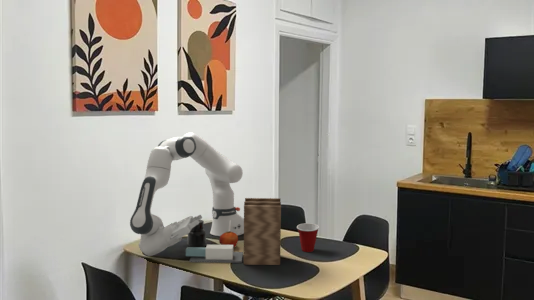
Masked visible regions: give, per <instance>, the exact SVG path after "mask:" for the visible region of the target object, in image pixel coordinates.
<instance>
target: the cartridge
mask: <svg viewBox="0 0 534 300" xmlns="http://www.w3.org/2000/svg"><path fill="white" fill-rule="evenodd" d="M205 246H206V247H205ZM205 246H202V247H190V246H187V247H186V249H185V257H191V256H206V259H215V260H233V252H234V248H233V245H221V244H206V245H205Z"/></svg>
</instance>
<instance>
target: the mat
mask: <svg viewBox="0 0 534 300" xmlns="http://www.w3.org/2000/svg"><path fill="white" fill-rule="evenodd" d="M243 258H244V251H233V260H215V259H206V256H190V259H189V263H221V264H222V263H228V264H229V263H231V264H232V263H237V264H240V263H241V264H242V262H243Z"/></svg>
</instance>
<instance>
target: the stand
mask: <svg viewBox="0 0 534 300" xmlns="http://www.w3.org/2000/svg"><path fill="white" fill-rule="evenodd" d="M243 202H244V204H243V218H244V234H243V265H250V266H251V265H254V266H255V265H257V266H258V265H260V266H261V265H262V266H266V265H268V266H269V265H270V266H272V265H273V266H280V265H281V234H282V233H281V231H282V227H281V226H282V225H281V224H282V219H281V218H282V205H281V204H282V202H281V198H278V197H275V198H274V197H273V198H271V197H270V198H269V197H264V198H263V197H260V198H259V197H244V201H243Z"/></svg>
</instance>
